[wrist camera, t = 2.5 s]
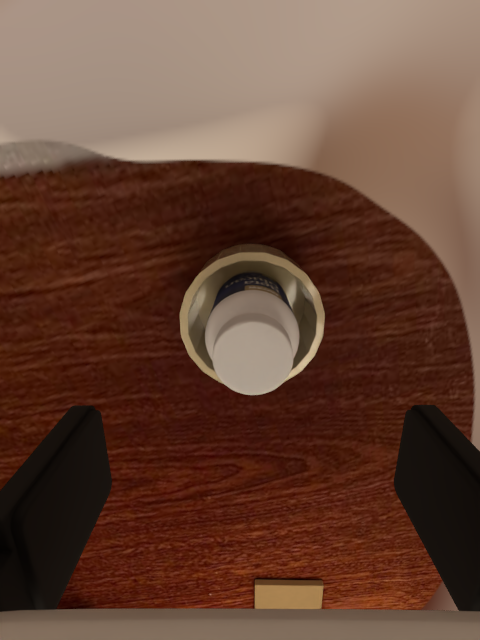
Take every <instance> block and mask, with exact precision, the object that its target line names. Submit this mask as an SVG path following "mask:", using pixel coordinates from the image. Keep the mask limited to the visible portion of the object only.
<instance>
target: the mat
mask: <svg viewBox="0 0 480 640" xmlns="http://www.w3.org/2000/svg"><path fill="white" fill-rule="evenodd" d="M322 596H323V581H322V580H262V579H255V609H321V606H322Z"/></svg>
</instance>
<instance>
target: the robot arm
mask: <svg viewBox="0 0 480 640" xmlns="http://www.w3.org/2000/svg"><path fill="white" fill-rule="evenodd" d="M111 485H112V479H111V473H110V467H109V460H108V454H107V448H106V442H105V436H104V430H103V423H102V417H101V413H100V411H98V410H95V408H94V406H72V407H71V408H70V409H69V410H68V412H67V413H66V414H65V415H64V416H63V417H62V419H61V420H60V421H59V422H58V423H57V425H56V426H55V427H54V428H53V429H52V430H51V432H50V433H49V434H48V435H47V436H46V438H45V439H44V440H43V441H42V442H41V443H40V445H39V446H38V447H37V448H36V449H35V451H34V452H33V453H32V454H31V455H30V456H29V458H28V459H27V460H26V461H25V462H24V464H23V465H22V466H21V467H20V468H19V469H18V471H17V472H16V473H15V474H14V475H13V477H12V478H11V479H10V480H9V481H8V482H7V484H6V485H5V486H4V487H3V488H2V490H1V491H0V640H480V451H479V450H478V449H477V448H476V447H475V446H474V445H473V444H472V443H471V442H470V441H469V440H468V439H467V438H466V437H465V436H464V435H463V434H462V433H461V432H460V431H459V429H458V428H457V427H456V426H455V425H454V424H453V423H452V422H451V421H450V420H449V419H448V418H447V417H446V416H445V415H444V414H443V413H442V412H441V411H440V410H439V409H438V408H437V407H436V406H435V405H414V406H413V407H412V408H411V410H407V412H406V414H405V420H404V426H403V432H402V437H401V443H400V449H399V455H398V460H397V466H396V472H395V477H394V486H395V490H396V493H397V495H398V497H399V499H400V501H401V503H402V505H403V506H404V508H405V510H406V512H407V514H408V516H409V518H410V520H411V522H412V523H413V525H414V527H415V529H416V531H417V533H418V535H419V537H420V539H421V540H422V542H423V544H424V546H425V548H426V550H427V552H428V554H429V555H430V557H431V559H432V561H433V563H434V565H435V567H436V569H437V571H438V572H439V574H440V576H441V578H442V580H443V582H444V584H445V585H446V587H447V589H448V591H449V593H450V595H451V597H452V599H453V601H454V603H455V604H456V606H457V608H458V610H459V611H445V610H357V609H59V610H56V608H57V606H58V604H59V602H60V599H61V597H62V595H63V593H64V591H65V589H66V586H67V584H68V582H69V580H70V578H71V576H72V573H73V571H74V569H75V567H76V565H77V563H78V560H79V558H80V556H81V554H82V552H83V550H84V547H85V545H86V543H87V541H88V539H89V537H90V534H91V532H92V530H93V528H94V526H95V524H96V521H97V519H98V517H99V515H100V513H101V511H102V508H103V506H104V504H105V502H106V500H107V498H108V495H109V493H110V490H111Z"/></svg>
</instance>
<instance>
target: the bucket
mask: <svg viewBox="0 0 480 640" xmlns="http://www.w3.org/2000/svg"><path fill="white" fill-rule="evenodd" d="M245 271H257V272H262V273H265V274H267V275H269V276H271V277H272V278H274V279H275V280H276V281H277V282H278V283H279V284H280V285H281V287H282V288H283V290H284V292H285V294H286V296H287V299H288V301H289V303H290V306H291V308H292V311H293V313H294V315H295V317H296V320H297V324H298V327H299V336H300V337H299V345H298V350H297V352H296V354H295V357H294V358H293V366H292V369H291V372H290V374H289V375H288V377H287V379H286V380H285V381H287V380H288V379H290V378H292V377H293V376H295V375H296V374H298V373H300V372H301V371H302V370H303V369H304V368H305V366H306V365H307V364H308V363H309V362H310V361H311V359H312V358H313V357H314V356H315V354H316V352H317V349H318V347H319V345H320V342H321V340H322V338H323V333H324V320H325V312H324V309H323V305H322V301H321V297H320V294H319V292H318V290H317V289H316V287H315V286H314V284H313V283H312V281H311V280H310V278H309V277H308V276H307V274H306V273H305V272H304V271H303V270H302V269H301V267H300V266H299V265H298V264H297V263H296V262H295V261H294V260H292V259H291V258H290V257H289V256H287V255H286V254H284V253H283V252H282V251H280V250H278V249H275V248H272V247H270V246H266V245H263V244H240V245H237V246H233V247H230V248H227V249H225V250H223V251H221V252H220V253H218V254H217V255H215V256H214V257H213V258H212V259H210V260H209V261H208V262H207V263H206V264H205V265H204V267H203V268H202V270H201V271H200V272H199V274H198V275H197V277H196V278H195V280H194V281H193V283H192V284H191V285H190V287H189V288H188V290H187V291H186V293H185V296H184V300H183V303H182V307H181V311H180V329H181V337H182V340H183V342H184V344H185V347H186V349H187V352H188V354H189V356H190V357H191V358H192V359H193V361H194V362H195V363H196V364H197V365H198V366H199V368H200V369H201V370H202V371H203V372H204V373H206V374H208V375H209V376H211V377H212V378H214V379H215V380H217V381H218V382H221V383H223V382H222V381H221V380H220V379H219V377H218V376H217V374H216V372H215V370H214V367H213V362H212V359H211V358H210V356H209V354H208V351H207V348H206V343H205V330H206V325H207V321H208V318H209V315H210V313H211V310H212V307H213V305H214V302H215V299H216V296H217V294H218V291H219V290H220V288H221V286H222V285H223V284H224V283H225V282H226V281H227V280H228V279H229V278H231V277H232V276H234V275H236V274H238V273H241V272H245ZM285 381H284V382H285ZM284 382H283V383H284ZM223 384H224V383H223Z"/></svg>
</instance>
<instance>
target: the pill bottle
mask: <svg viewBox="0 0 480 640" xmlns="http://www.w3.org/2000/svg"><path fill="white" fill-rule="evenodd" d="M299 337H300V336H299V327H298V324H297V320H296V317H295V315H294V313H293V311H292V308H291V306H290V303H289V301H288V299H287V296H286V294H285V292H284V290H283V288H282V287H281V285H280V284H279V283H278V282H277V281H276V280H275V279H274V278H272V277H271V276H269V275H267V274H265V273H262V272H257V271H245V272H241V273H238V274H236V275H234V276H232V277H231V278H229V279H228V280H227V281H226V282H225V283H224V284H223V285H222V286H221V288H220V290H219V291H218V294H217V296H216V299H215V302H214V305H213V307H212V310H211V313H210V315H209V318H208V321H207V325H206V330H205V343H206V348H207V351H208V354H209V356H210V358H211V359H212V362H213V367H214V370H215V372H216V374H217V376H218V377H219V379H220V380H221V381H222V382H223V383H224V384H225V385H226V386H227V387H229V388H230V389H232V390H234V391H236V392H239V393H242V394H246V395H260V394H264V393H268V392H270V391H272V390H274V389H276V388H277V387H279V386H280V385H281V384H282V383H283V382H284V381H285V380H286V379H287V377H288V375H289V374H290V372H291V369H292V366H293V358H294V357H295V354H296V352H297V350H298V345H299Z"/></svg>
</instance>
